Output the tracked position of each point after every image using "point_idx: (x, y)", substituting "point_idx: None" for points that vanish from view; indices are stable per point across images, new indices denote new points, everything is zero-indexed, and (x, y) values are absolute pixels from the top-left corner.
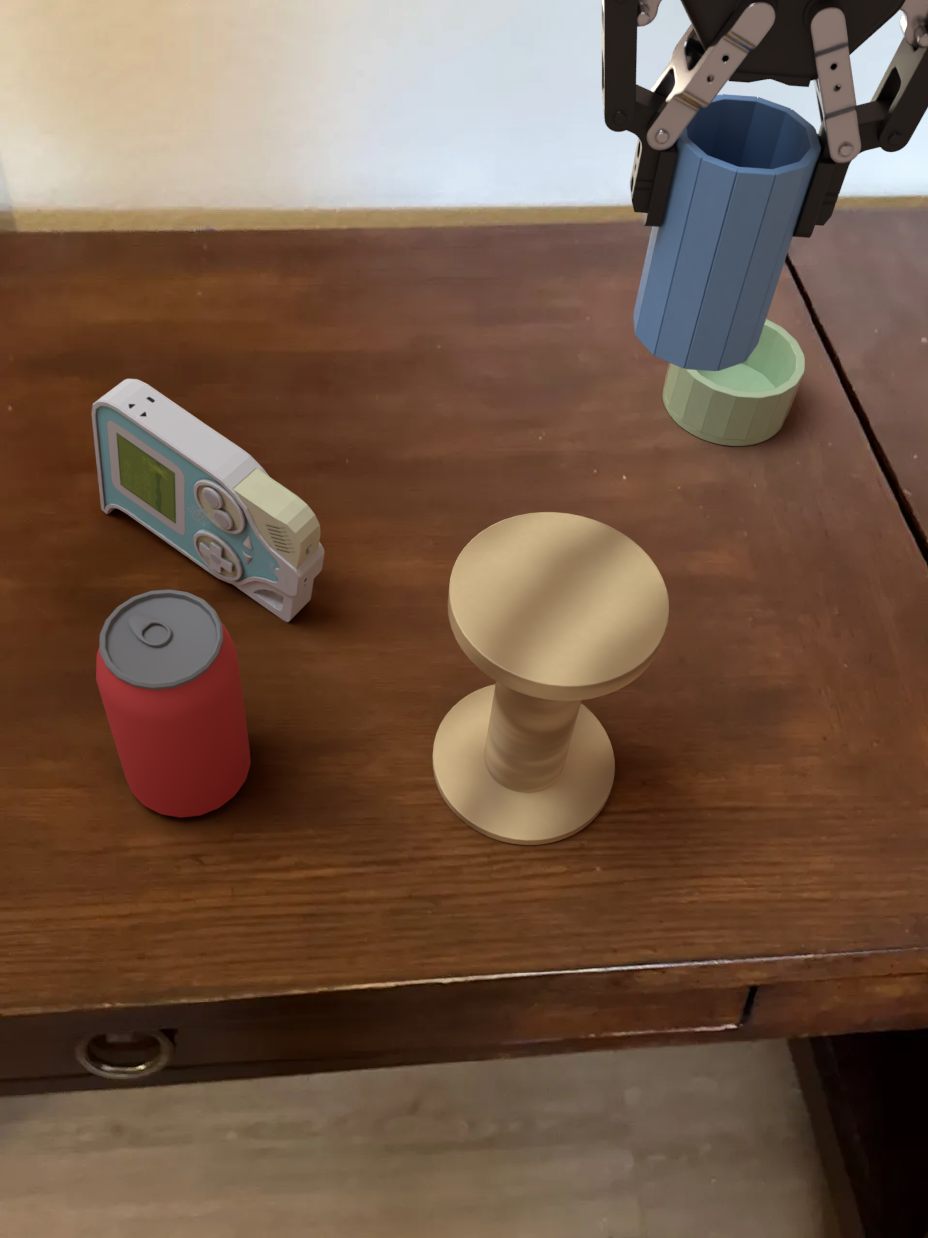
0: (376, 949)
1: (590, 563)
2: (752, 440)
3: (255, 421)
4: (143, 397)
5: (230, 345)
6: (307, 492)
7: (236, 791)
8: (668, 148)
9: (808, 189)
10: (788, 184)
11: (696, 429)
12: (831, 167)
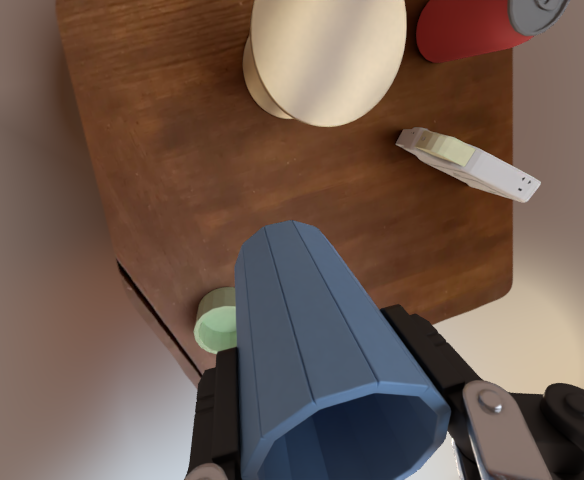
0: None
1: (312, 79)
2: (210, 293)
3: (422, 236)
4: (523, 189)
5: (433, 271)
6: (399, 205)
7: (422, 12)
8: (454, 389)
9: (238, 404)
10: (280, 394)
11: None
12: (216, 449)
